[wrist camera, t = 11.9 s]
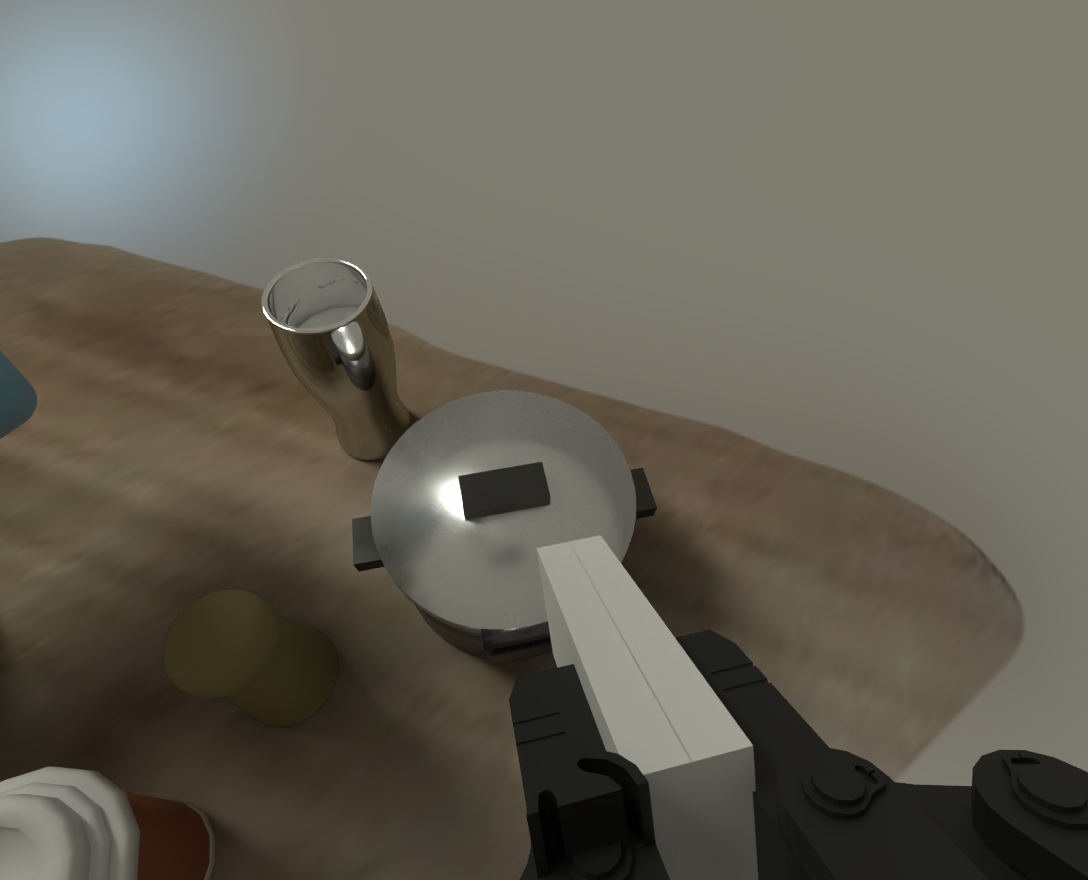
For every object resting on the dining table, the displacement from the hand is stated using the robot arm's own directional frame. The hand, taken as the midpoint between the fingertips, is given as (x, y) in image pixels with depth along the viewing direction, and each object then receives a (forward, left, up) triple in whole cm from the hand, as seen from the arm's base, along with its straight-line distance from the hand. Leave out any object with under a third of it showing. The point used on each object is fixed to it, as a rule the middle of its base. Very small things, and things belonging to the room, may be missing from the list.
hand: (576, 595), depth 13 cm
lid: (-6, +10, -18) cm, 21 cm away
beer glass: (-20, +17, -26) cm, 37 cm away
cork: (-17, -2, -26) cm, 31 cm away
